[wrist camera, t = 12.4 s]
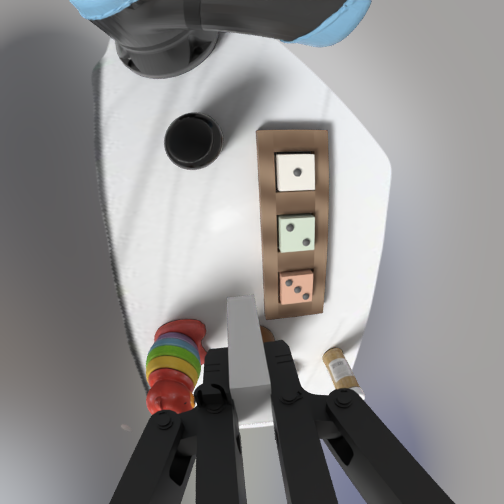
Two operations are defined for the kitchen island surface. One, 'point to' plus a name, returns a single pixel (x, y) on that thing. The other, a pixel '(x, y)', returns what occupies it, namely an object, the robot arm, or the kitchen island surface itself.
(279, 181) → the one-pip button
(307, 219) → the two-pip button
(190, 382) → the stacking bear
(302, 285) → the three-pip button
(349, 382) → the sprinkles bottle
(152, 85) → the kitchen island surface
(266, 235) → the button board
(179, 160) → the supplement bottle
